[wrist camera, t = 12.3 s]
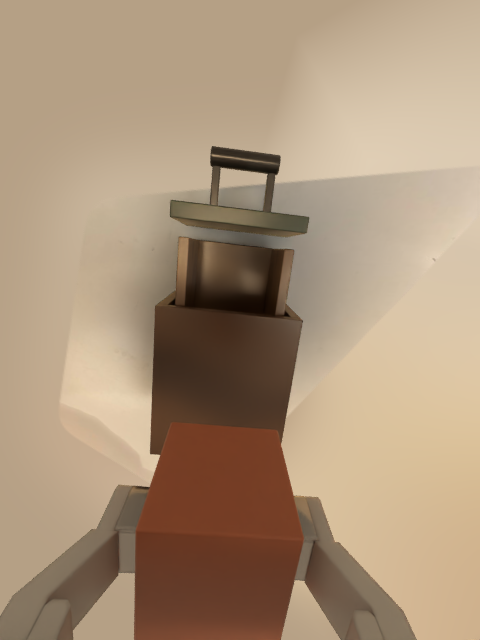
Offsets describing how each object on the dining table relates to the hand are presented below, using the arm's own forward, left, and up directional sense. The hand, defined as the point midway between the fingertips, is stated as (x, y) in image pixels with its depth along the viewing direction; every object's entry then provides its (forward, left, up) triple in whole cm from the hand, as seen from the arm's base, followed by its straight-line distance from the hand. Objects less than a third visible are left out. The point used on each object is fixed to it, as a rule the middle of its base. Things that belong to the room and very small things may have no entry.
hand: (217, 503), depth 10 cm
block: (0, 0, -2) cm, 2 cm away
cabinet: (+3, 0, -22) cm, 22 cm away
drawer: (-8, 0, -21) cm, 23 cm away
